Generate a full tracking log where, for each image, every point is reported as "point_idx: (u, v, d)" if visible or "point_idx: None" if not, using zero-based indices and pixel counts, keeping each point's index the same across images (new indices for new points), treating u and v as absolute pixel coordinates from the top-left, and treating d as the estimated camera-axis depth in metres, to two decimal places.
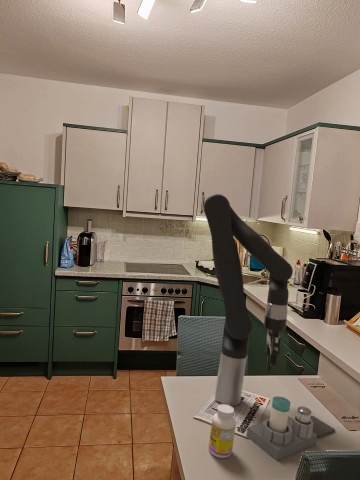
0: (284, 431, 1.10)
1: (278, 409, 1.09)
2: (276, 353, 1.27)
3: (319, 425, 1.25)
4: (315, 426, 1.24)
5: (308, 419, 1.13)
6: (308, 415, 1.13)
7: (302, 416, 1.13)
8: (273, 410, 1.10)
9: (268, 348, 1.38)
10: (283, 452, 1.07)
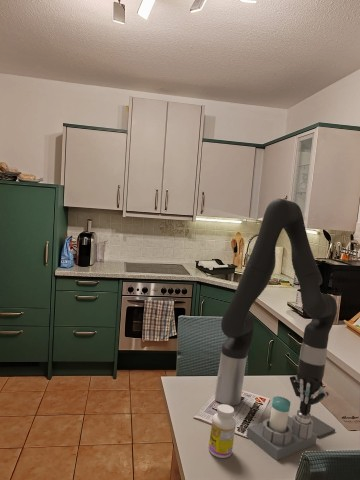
0: (284, 431, 1.10)
1: (278, 409, 1.09)
2: None
3: (319, 425, 1.25)
4: (315, 426, 1.24)
5: (308, 422, 1.13)
6: (307, 418, 1.13)
7: (301, 420, 1.13)
8: (273, 410, 1.10)
9: None
10: (283, 452, 1.07)
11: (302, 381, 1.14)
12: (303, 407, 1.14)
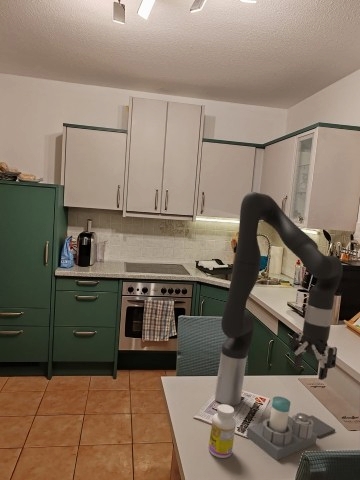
0: (284, 431, 1.10)
1: (278, 409, 1.09)
2: None
3: (319, 425, 1.25)
4: (315, 426, 1.24)
5: None
6: (307, 422, 1.13)
7: (301, 423, 1.13)
8: (273, 410, 1.10)
9: None
10: (283, 452, 1.07)
11: (306, 344, 1.13)
12: (320, 372, 1.10)
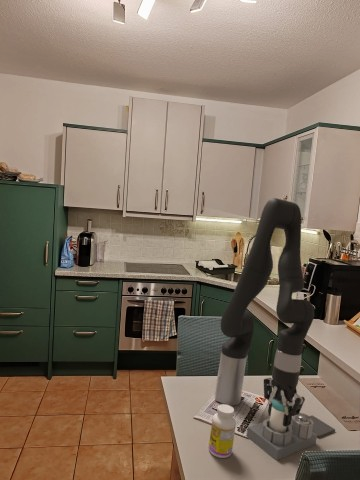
0: (284, 431, 1.10)
1: (278, 409, 1.09)
2: None
3: (319, 425, 1.25)
4: (315, 426, 1.24)
5: None
6: (307, 422, 1.13)
7: (301, 423, 1.13)
8: (273, 410, 1.10)
9: None
10: (283, 452, 1.07)
11: (276, 389, 1.11)
12: (284, 419, 1.09)
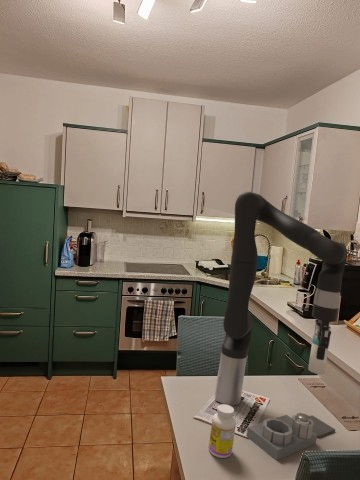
0: (319, 365, 1.17)
1: (313, 342, 1.19)
2: None
3: (319, 425, 1.25)
4: (315, 426, 1.24)
5: None
6: (307, 422, 1.13)
7: (301, 423, 1.13)
8: (312, 344, 1.20)
9: None
10: (283, 452, 1.07)
11: (316, 324, 1.20)
12: (317, 351, 1.17)
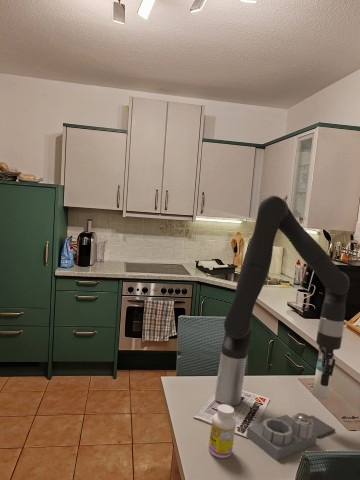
0: (323, 391, 1.21)
1: (318, 368, 1.23)
2: None
3: (319, 425, 1.25)
4: (315, 426, 1.24)
5: None
6: (307, 422, 1.13)
7: (301, 423, 1.13)
8: (316, 369, 1.24)
9: None
10: (283, 452, 1.07)
11: (320, 351, 1.24)
12: (321, 378, 1.21)
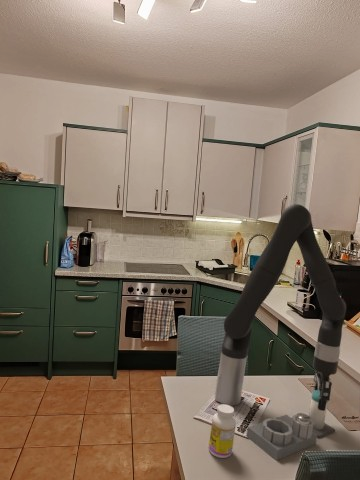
0: (318, 421, 1.22)
1: (313, 398, 1.23)
2: None
3: None
4: None
5: None
6: (307, 422, 1.13)
7: (301, 423, 1.13)
8: (311, 399, 1.25)
9: None
10: (283, 452, 1.07)
11: (316, 375, 1.25)
12: (318, 402, 1.20)
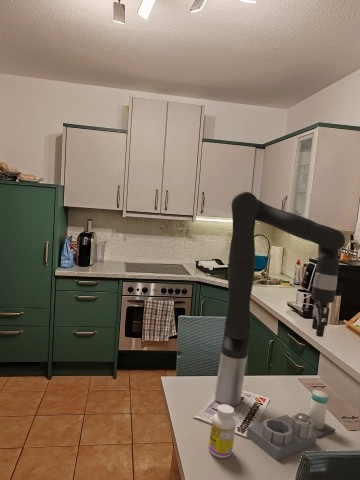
0: (318, 421, 1.22)
1: (313, 398, 1.23)
2: None
3: None
4: None
5: None
6: (307, 422, 1.13)
7: (301, 423, 1.13)
8: (311, 399, 1.25)
9: None
10: (283, 452, 1.07)
11: (314, 306, 1.30)
12: (316, 329, 1.26)
